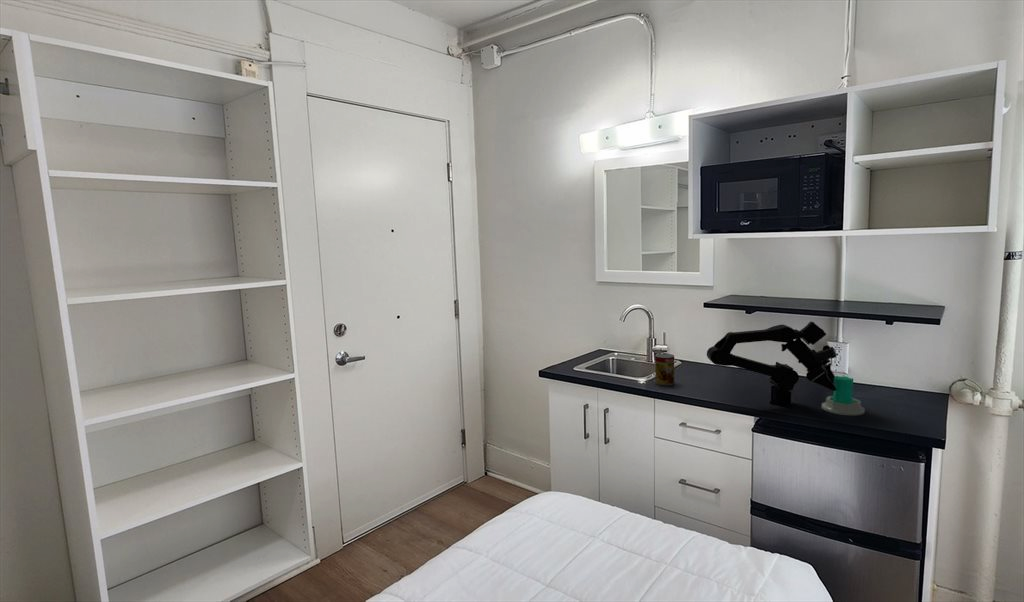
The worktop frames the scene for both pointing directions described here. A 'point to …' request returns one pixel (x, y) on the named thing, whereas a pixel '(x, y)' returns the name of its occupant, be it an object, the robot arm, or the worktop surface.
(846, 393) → the candle
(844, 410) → the candle dish
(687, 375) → the worktop surface
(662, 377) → the canned food
